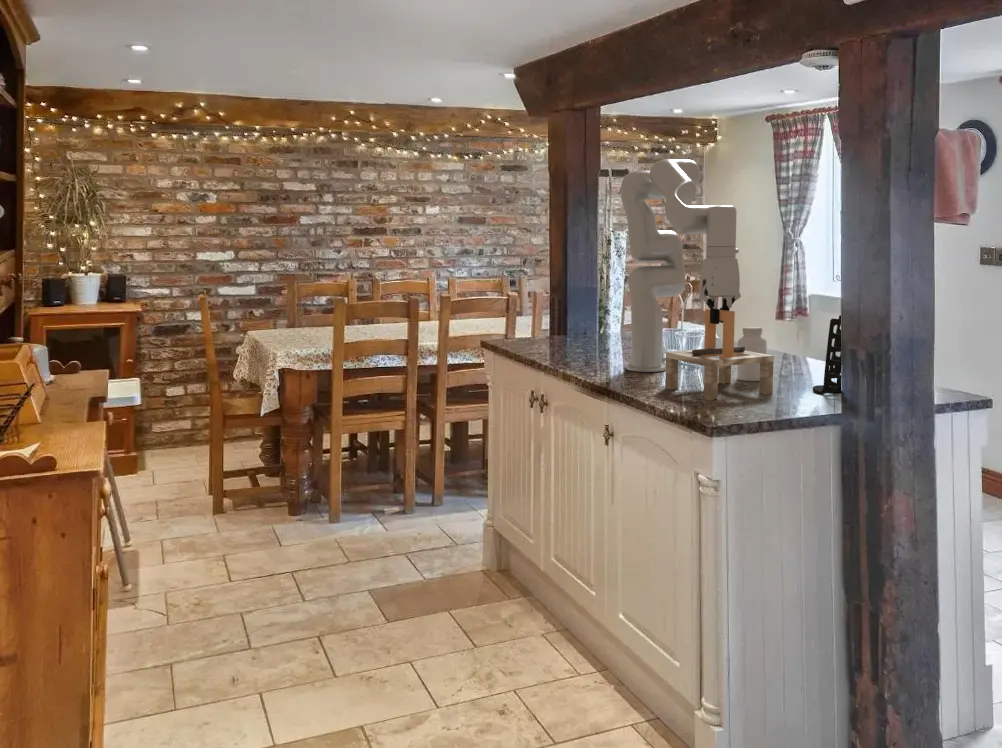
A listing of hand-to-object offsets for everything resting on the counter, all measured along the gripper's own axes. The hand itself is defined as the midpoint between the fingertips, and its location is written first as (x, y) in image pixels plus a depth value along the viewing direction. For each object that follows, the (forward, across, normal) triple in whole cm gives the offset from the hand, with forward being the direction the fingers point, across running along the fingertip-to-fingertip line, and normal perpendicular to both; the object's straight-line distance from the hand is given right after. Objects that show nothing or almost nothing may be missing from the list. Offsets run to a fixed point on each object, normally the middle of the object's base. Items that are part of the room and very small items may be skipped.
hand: (719, 322), depth 247 cm
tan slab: (+9, 0, 0) cm, 9 cm away
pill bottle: (+18, -19, -10) cm, 28 cm away
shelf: (+18, 0, 0) cm, 18 cm away
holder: (+19, -25, +15) cm, 34 cm away
